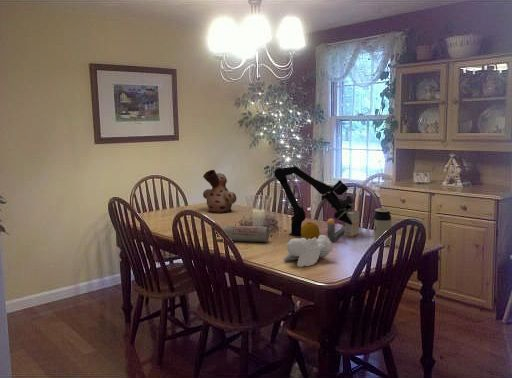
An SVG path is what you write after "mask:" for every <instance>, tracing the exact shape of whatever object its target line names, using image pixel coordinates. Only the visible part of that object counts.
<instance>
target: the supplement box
mask: <svg viewBox="0 0 512 378" xmlns="http://www.w3.org/2000/svg"><path fill="white" fill-rule="evenodd" d="M347 216H348V217H349V219H350V220H351V222H352V223H353V224H352V225H350V224H348V223H345V232H344V237H350V238H353V237H355V236H357V235H359V232H360V231H359V230H360V229H359V228H360V227H359V225H360V211H359V210H355V209H353V210H351V211H348V212H347Z"/></svg>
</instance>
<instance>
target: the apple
mask: <svg viewBox="0 0 512 378" xmlns="http://www.w3.org/2000/svg"><path fill="white" fill-rule="evenodd" d="M320 233H321V232H320V228H319V226H318V225H317V223H315V222H311V221H307V222H305V223H303V224H302V229H301V236H300V237H301V238H305V239H306V240H308V239H313V238H315V237H316V238H317V239H318V238H319V236H320V235H321V234H320Z"/></svg>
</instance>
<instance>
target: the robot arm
mask: <svg viewBox="0 0 512 378" xmlns="http://www.w3.org/2000/svg"><path fill="white" fill-rule="evenodd" d="M273 174H274V177H275V179H277V181H278V182H279V183H280V185H281V186H282V189H283V191H284V193H285V195H286V197H287V200H288V201H289V204H290V206H291V207H292V211H293V216H291V218H290V221H291V224H290V228H291V230H290V231H291V232H290V233H288V235H289V236H297V237H298V236H299V237H302V236H301V229H302V226H303V224H302V223H303V222H304V221H305V220H306V218H307V217H306V216H307V215H306V214H307V213H306V211H305V210H304V205H299V203H298V201H297V199H296V196H295V195H294V192H293V190H292V189H291V186H290V184H289V182H288V180H287V176H291V175H295V176H297V177H298V178H301V179H302V180H304V181H305V182H306V183H308V184H309V185H311V186H312V187H313V188H314V189H315V190H316V191H317V192H318V193H319V194H321V201H325V200H326V202H328V204H329V205H330V208H331V209H334V210H335V213H334V214H333V218H334V219H335V220H339V221H341V222H342V223H343V222H345V223H348V224H350V225H352V224H353V223H352V222H351V220H350V219H349V217H348V216H347V212H348V211H351V210H354V206H353V203H355V201H354V197H353V196H351V195H348V196H346V198H345V199H342V198H339V197H338V196H342V195H343V194H344V193H345V192H347V191H348V190H349V187H348V186H347V185H346V184H345V183H343V181H342V180H340V179H339V180H338V181H337V182H336V183H335V184H334V185H333V186H332V185H327V183H325V182H323V181H321V180H318V179H316V178H314V177H313V176H311V175H309V174H308V173H306V172H305V171H303V170H302V169H301V168H299V167H298V166H297V165H293V166H288V167H280V166H278V167H277V166H276V168H274V170H273Z"/></svg>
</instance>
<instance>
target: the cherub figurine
mask: <svg viewBox="0 0 512 378" xmlns="http://www.w3.org/2000/svg"><path fill="white" fill-rule="evenodd" d="M331 244H332V242H331V241H330V240H329V238H328V235H325V234H320V235H319V238H318V239H317V238H316V237H315V238H313V239H308V240H306V239H305V238H302V237H301V238H299V237H298V238H294V237H293V238H291V239H290V240H289V241H288V242H287V243H286V250H287V251H288V253H287V254H286V255H285V256H284V257H283V258H282V260H283V261H284V262H289V261H294V260H297V264H296V266H297V267H298V268H303V267H309V266H313V265H315V264H316V263H317V261H318V260H319V258H321V259H324V258H326V257H327V256H329V254H330V253H331V252H333V249H332V245H331Z"/></svg>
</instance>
